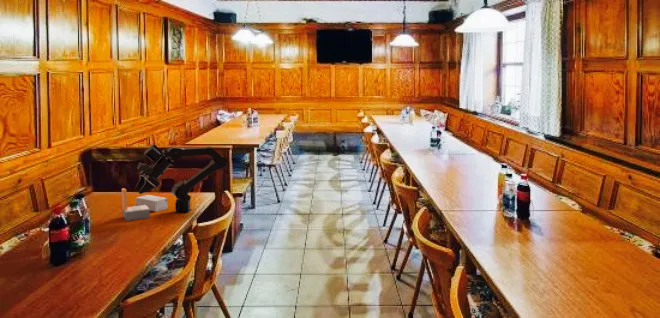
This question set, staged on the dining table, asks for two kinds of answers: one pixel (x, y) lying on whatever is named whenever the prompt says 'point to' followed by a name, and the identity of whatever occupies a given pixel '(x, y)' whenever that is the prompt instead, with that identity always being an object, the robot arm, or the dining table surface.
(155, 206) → the skincare box
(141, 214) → the gray open box
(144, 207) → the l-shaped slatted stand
